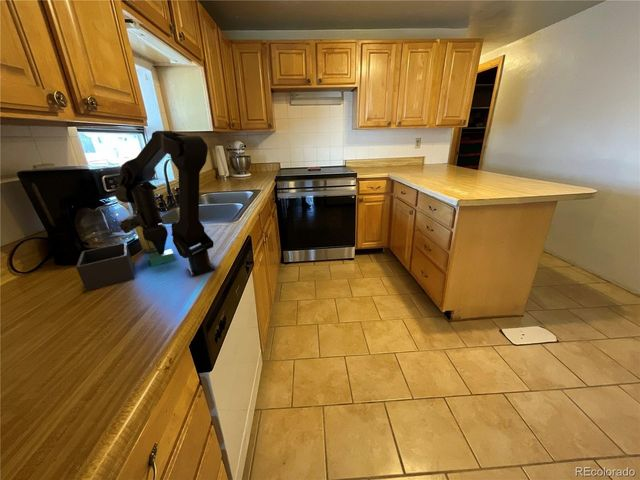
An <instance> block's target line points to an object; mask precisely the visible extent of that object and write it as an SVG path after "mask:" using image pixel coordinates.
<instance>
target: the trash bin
mask: <svg viewBox="0 0 640 480" xmlns="http://www.w3.org/2000/svg"><path fill="white" fill-rule="evenodd" d="M75 268H76V270H77V273H78V275H79V277H80V280H81V282H82V285H83V287H84V289H85V291H86V292H89V291H92V290H96V289H100V288H103V287H107V286H111V285H116V284H118V283H122V282H126V281H131V280H133V279H135V268H134V261H133V258H132V256H131V252H130V250H129V246H128V244H127V242H120V243H117V244H110V245H106V246H102V247H97V248H91V249H88V250H87V249H86V250H83V251H81V253H80V256H79V258H78V261H77V263H76V266H75Z"/></svg>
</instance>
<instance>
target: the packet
mask: <svg viewBox="0 0 640 480" xmlns="http://www.w3.org/2000/svg"><path fill="white" fill-rule="evenodd" d="M174 253H175V252H174V251H173V249H172V248H170V249H164V254H163V255H159V253H158V251H155V252H150V253H148V259H149V262H150V264H151V267H153V266H157V265H162V264H165V263H169V262H172V261H175V260H176V257H175V254H174Z"/></svg>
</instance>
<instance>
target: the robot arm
mask: <svg viewBox="0 0 640 480" xmlns="http://www.w3.org/2000/svg"><path fill="white" fill-rule="evenodd" d="M208 151H209V149H208V143H206V142H205V139H203V138H202V137H201V136H200V135H196V134H195V135H188V134H183V133H178V132H175V131H172V130H156V131H153V132H152V133H151V138H149V140H148V141H147V143H146V144H145V146H144V147H143V148H142V149H141V151H140V152H139V153H138V154H137V156H136V157H134V158H132V159H130V160H126V161H125V162H124V163H123V164H121V165H120V170H119V176H118V180H117V184H118V186H117V187H116V188H115V190H114V197H115V198H116V200H117V201H118V202H120V203H126V204H130V203H134V204H135V205H136V208H137V209H136V213H135V214H133V213H132V214H130V215H129V216H127V217H125V218H123V219H121V220H119V221H118V223H117V226H118V227H119V228H120V230H122V231H123V233H124V234H128V233H130V232H131V231H133V230H134V229H135V228H136V227H138V226H141V227H142V228H143V230H142V232H143V236H144V239H145V240H147V241H150V242H152V243H153V245H154V246H155V248H156V250H157V251H156V252H158V253H159V255H163V254H164V250H166V249H165V247H166V244H167V240H168V235H169V233H168V229H167V227H166V225H164V224H163V223H164V221H163V218H162V216H161V212H160V207H159V205H158V202H157V198H156V194H155V191H156V190H157V189H158V187H157V186H156V185H154V184H153V183H152V182H151V181H152V180H153V179H154V177H155V175H156V173H157V171H156V167H157V166H158V165H159V163H161V161H162V160H164V158H165V157H166V156H167V154H168V155H170V160H171V162H172V163H173V165H174V166H175V167H176V170H177V172H178V208H179V215H178V216H179V219H178V221H175V222H172V223H171V226H170V228H171V234H170V235H171V236H172V243H173V245H174V247H175V249H176V251H177V253H178V255H179V256H180V257H182V259H188V263H189V266H188V267H187V269H188V271H189V273H190V274H191V277H196V276H199V275H203V274H205V273H209V272H212V271H215V270H216V269H215V267H214V265H213V264H212V263H211V260H210V256H209V251H208V250H210V249H212V248H214V243H215V242H214V241H213V239H212V238H211V237H210V236H209V235H208V234H207V233H206V232H205V231H206V230H205V226H204V225H203V223H202V222H201V220H200V173H201V172H202V169H203V167H204V166H205V165H206V163H207V157H208Z"/></svg>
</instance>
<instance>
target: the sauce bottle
mask: <svg viewBox="0 0 640 480" xmlns="http://www.w3.org/2000/svg"><path fill="white" fill-rule="evenodd" d="M129 204H130V207H131V209H132V215H133V214H135V213H136V209H137V208H136V205H135V204H134V203H129ZM134 229H135V232H136V235H137V237H138V240H139V243H140V246H141V248H142V250H143V252H144V253H148V254H149V253H156V252H158V251H157V250H156V248H155V246H154V245H153V243H152V242H150V241H147V240H145V239H144V236H143V232H142V230H143V228H142V227H141V226H138V227H136V228H134Z"/></svg>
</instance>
